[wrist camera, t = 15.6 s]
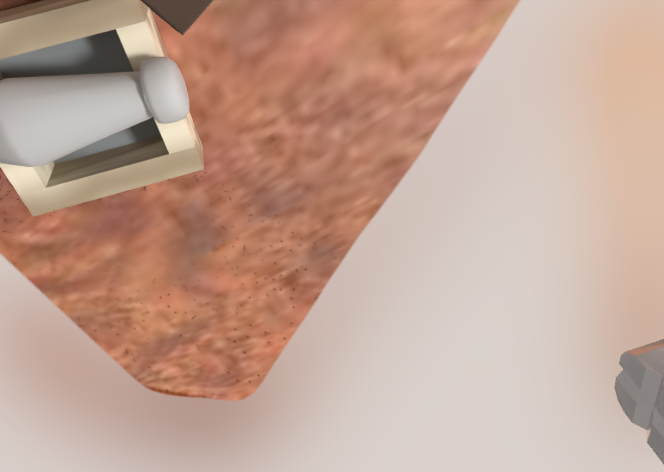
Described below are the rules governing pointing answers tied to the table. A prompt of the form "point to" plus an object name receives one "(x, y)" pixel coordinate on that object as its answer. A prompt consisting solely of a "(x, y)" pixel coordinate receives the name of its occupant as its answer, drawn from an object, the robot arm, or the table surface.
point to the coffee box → (178, 11)
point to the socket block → (91, 58)
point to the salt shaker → (84, 109)
